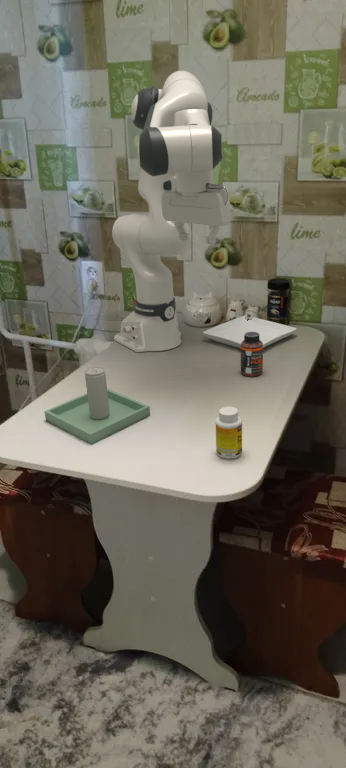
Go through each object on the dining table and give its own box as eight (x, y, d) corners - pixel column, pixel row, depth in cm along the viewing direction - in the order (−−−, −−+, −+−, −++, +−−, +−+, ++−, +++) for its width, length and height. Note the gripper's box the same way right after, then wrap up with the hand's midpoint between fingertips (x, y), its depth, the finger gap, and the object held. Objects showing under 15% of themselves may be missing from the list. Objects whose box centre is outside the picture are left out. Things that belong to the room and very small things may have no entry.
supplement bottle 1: (241, 460, 136) (240, 417, 131) (215, 459, 137) (213, 416, 132) (243, 447, 141) (242, 404, 136) (217, 446, 142) (216, 404, 137)
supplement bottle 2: (252, 379, 172) (252, 339, 168) (236, 373, 177) (235, 334, 172) (267, 372, 176) (267, 333, 171) (251, 366, 180) (250, 328, 175)
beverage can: (105, 421, 154) (100, 375, 149) (87, 419, 155) (81, 374, 150) (112, 412, 158) (108, 367, 153) (94, 410, 159) (89, 366, 154)
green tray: (45, 420, 157) (44, 411, 156) (103, 395, 168) (102, 386, 167) (91, 444, 145) (90, 434, 144) (150, 415, 156) (149, 406, 155)
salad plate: (298, 337, 200) (298, 326, 198) (255, 358, 187) (255, 347, 185) (244, 323, 214) (244, 314, 212) (201, 342, 201) (200, 332, 199)
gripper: (236, 182, 147) (237, 243, 153) (174, 180, 161) (177, 236, 167) (217, 186, 143) (219, 248, 149) (155, 183, 157) (159, 240, 163)
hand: (197, 241), depth 158 cm, fingers open, 8 cm apart
